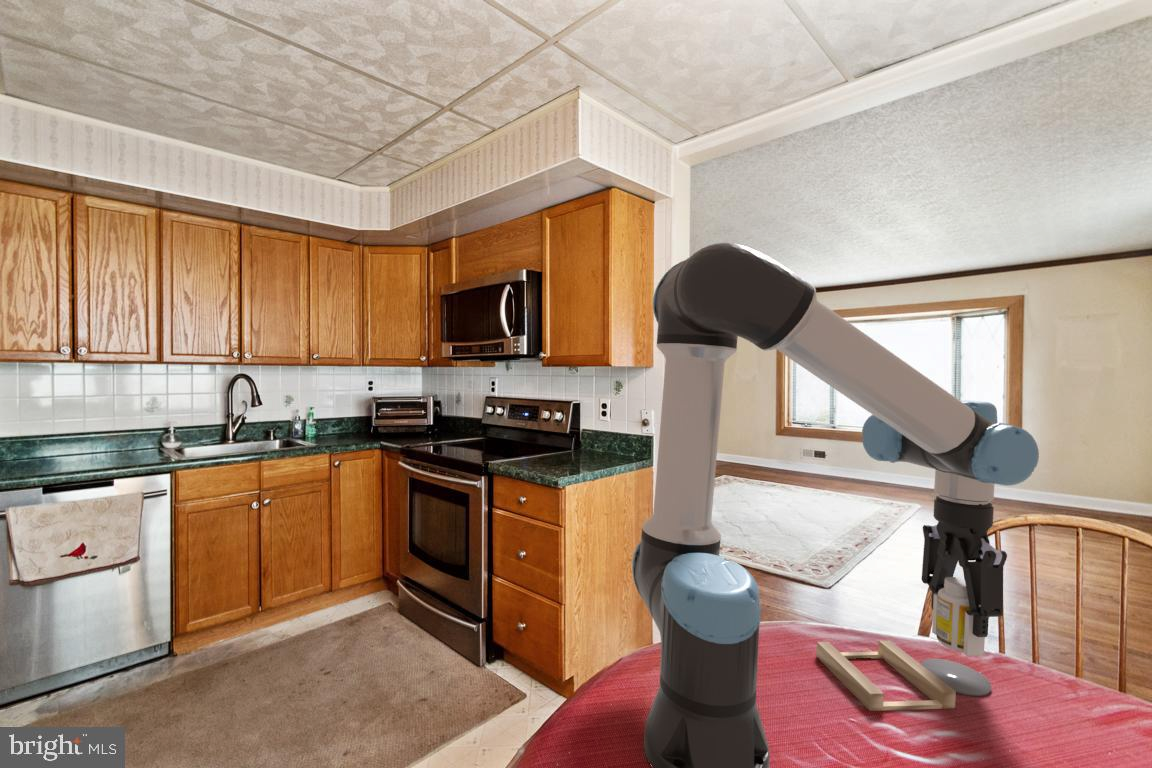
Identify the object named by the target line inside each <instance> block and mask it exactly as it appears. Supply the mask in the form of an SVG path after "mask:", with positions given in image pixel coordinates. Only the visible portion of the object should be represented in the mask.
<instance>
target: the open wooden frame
mask: <svg viewBox="0 0 1152 768" xmlns="http://www.w3.org/2000/svg"><path fill="white" fill-rule="evenodd" d="M877 643H878V647H877V651H845V652H843V651H842V652H841V651H839V650H838V649H837V648H836V647H835V646H834V645H833V644H832V643H830V642H829V641H816V657H817V659H818V660H819V661H820V662H821V663H822V664H823V665H824V666H825V667H826V668H827V669H828V670H829V671H830V672H831V673H832V674H833V675H834V676H835V677H836V678H837V679H838V680H839V681H840V682H841V683H842V684H843V685H844V687H846V689H848V690H849V691H850V693H852V694H853V695H854V696H855V698H857V699H858V701H859V702H860V703H861V704H863V706H864V707H865V708H866V709H867V710H868V711H869V712H881V711H906V710H907V711H911V710H939V709H941V710H942V709H947V710H948V709H955V708H956V695H957V694H956V691H955V690H953V689H952V688H951V687H949V686H948V685H947V684H946V683H944V682H943V681H942V680H940V679H939V678H938V677H937V676H935V675H934V674H933V673H931V672H930V671H929V670H927V669H926V668H925V667H924V666H922V665H921V663H920V662H918V661H917V660H916V659H914V657H912V656H910V655H909V653H907V652H905V651H904V650H903V649H902V648H901V647H899V646H897V645H896V644H895V643H893V642H892V641H891V640H890V639H887V640H878V642H877ZM856 658H871V659H882V660H883V659H884V660H883V661H885V662H886V663H887V664H888V665H890V666H891V667H892V668H893V669H894V670H896V672H898V673H899V674H900V675H901V676H902V677H904V679H906V680H907V681H908V682H909V683H911V684H912V685H913V686H915V687H916V688H917V689H918V690H919V691H920V692H922V694H924V695H925V696H926V697H927V698H929V699H928V700H927V699H926V700H901V701H896V700H895V701H884V699H885V698H884V696H885V695H884V692H883V691H882V690H881V689H879V687H878V686H877V685H876V684H874V683H873V682H872V681H871V680H870V679H869V678H868V677H867V676H866V675H865V674H864V673H863V672H861V671H860V670H859V669H858V668H857V667H856V666H855V665H854V664H853V663H852V662H851V661H850V660H857V659H856Z"/></svg>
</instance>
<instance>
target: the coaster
mask: <svg viewBox="0 0 1152 768" xmlns="http://www.w3.org/2000/svg"><path fill="white" fill-rule="evenodd" d="M920 664H921V665H922V666H924V667H925V668H926V669H927V670H929V671H930V672H931V673H933V674H934V675H935V676H937V677H938V678H939V679H940V680H942V681H943V682H944V683H946V684H947V685H948V686H949V687H951V688H952V689H953V690H955V691H956V693H957V694H961V695H965V696H970V697H971V696H972V697H983V696H984V697H985V696H987V695H989V694H990V693H991V690H992V684H991V682H990V681H989V679H988V678H987V677H986V676H985V675H984V674H982V673H981V672H979V671H978V670H975V669H974V668H972V667H970V666H967V665H965V664H962V663H959V662H956V661H953V660H949V659H941V658H929V659H928V658H927V659H925V660H923V661H922V662H921V663H920Z"/></svg>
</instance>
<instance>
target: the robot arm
mask: <svg viewBox="0 0 1152 768" xmlns="http://www.w3.org/2000/svg"><path fill="white" fill-rule="evenodd" d="M652 299H653V300H652V310H653V314H654V317H655V319H656V322H657V333H656V334H657V337H656V347H657V348H658V350H659V352H661V354H663V356H664V358H665V363H664V364H665V365H664V377H663V390H662V402H661V410H660V411H661V414H660V425H659V427H660V428H659V439H658V449H657V450H658V452H657V464H656V475H655V490H654V502H653V512H652V513H653V514H652V515H651V516H650V517H649V518H648V519H646V520H645V521H644V522H643V523H642V526H641V538H640V541H639V542H638V544H637V546H636V547H635V550H634V553H633V556H632V564H631V565H632V566H631V567H632V578H633V582H634V585H635V587H636V590H637V592H638V594H639V596H640V597H641V599H642V600H643V602H644V604H645V606H646V608H647V610H648V611H649V614H650V616H651V617H652V619H653V621H654V623H655V625H656V627H657V629H658V631H659V634H660V663H659V665H660V666H659V667H660V668H659V670H660V671H659V673H660V674H659V687H658V689H657V692H656V694H655V697H654V699H653V702H652V705H651V708H650V709H649V712H648V715H647V718H646V720H645V721H646V722H645V726H644V735H643V737H644V738H643V750H644V749H645V751H644V755H645V754H646V755H645V757H647V758H646V760H647V759H648V761H649V763H650V764H651V765H652V767H653V768H770V762H771V761H770V757H771V755H770V748H769V743H768V740H767V736H766V733H765V730H764V726H763V723H762V718H761V716H760V712H759V709H758V705H757V687H758V666H759V665H758V663H759V661H758V660H759V641H760V639H759V638H760V623H761V618H762V613H761V612H762V606H761V604H760V591H759V590H760V589H759V587H758V586H759V585H758V583H757V581H756V579H755V578H754V576H753V575H752V574H751V572H749V571H748V569H746V568H745V567H744V566H742V565H741V564H739V563H737V562H736V561H734V560H727V559H726V557H724V556H720V551H721V539H722V538H721V537H722V536H721V533H720V532H719V530H718V529H717V528H716V527H715V526H714V524H713V522H712V515H713V505H714V504H713V503H714V493H715V482H716V481H715V480H716V468H717V455H718V446H719V445H718V443H719V432H720V420H721V410H722V398H723V397H722V395H723V386H724V385H723V383H724V374H725V372H724V371H725V363H726V361H727V360H728V359H730V357H731V356H733V355H734V354H735V353H736V352H737V349H738V339H739V338H743V339H745V340H746V341H748V342H750V343H752V344H753V345H755V346H756V347H757V348H759V349H760V350H762V351H764V352H767V351H772V350H777V351H778V352H779V353H781V354H783V355H784V356H786V357H787V358H788V359H790V360H791V361H793V362H794V363H796V364H797V365H799V366H800V367H802V368H804V369H805V370H807V372H810V374H812V375H813V376H815V377H817V378H818V379H820V381H823V382H824V383H825V384H827V385H829V386H830V387H831V388H832V389H834V390H836V391H838V392H839V393H841V395H843V396H845V397H846V398H847V399H849V400H850V401H852V402H853V403H855V404H856V405H858V406H860V407H861V408H862V409H864V410H865V411H866V412H867V413H870V414H871V415H870V416H869V417H868V418H867V419H866V420H865V421H864V423H863V426H862V429H861V433H862V435H861V436H862V437H861V441H862V446H863V448H864V450H865V452H866V453H867V455H868V456H869V457H870V458H871V459H872V460H875V461H878V462H889V463H892V464H894V463H899V462H901V463H909V464H913V465H918V466H919V467H920V466H921V467H924V468H929V469H933V470H935V472H934V486H933V487H934V488H933V491H934V493H935V494H937V495H936V496H935V497H934V500H933V517H934V519H935V521H937V524H928V525H927V524H924V525H923V526H922V532H923V533H922V534H923V538H924V540H923V543H924V544H923V555H922V565H921V566H922V569H921V582H922V583H923V584H926V585H927V586H928V587H929V590H930V591H931V602H930V603H931V609H932V625H931V626H932V627H931V631H932V632H931V633H933V634H934V635H936V632H937V605H938V591H939V590H940V589H942V588H944V582H945V578H946V577H954V574H955V571H956V567H957V565H959V566H960V567H961V568H962V572H963V577H964V578H963V579H965V583H966V589H967V595H968V600H969V606H970V610H966V611H965V628H964V650H963V652H962V653H963V654H964V655H965V656H968V657H972V656H974V657H975V656H976V657H978V656H981V657H982V656H985V643H986V642H985V641H986V638H987V637H988V635H989V620H990V619H989V618H994V617H996V618H999V617H1000V618H1001V617H1002V616H1003V615H1004V566H1005V563H1006V561H1007V559H1008V554H1007V552H1006V551H1005V550H997V548H995V547H993V545H991V544H990V539H989V537H988V531H989V530H990V529H991V528H992V527H993V526H994V511H995V510H994V507H995V506H994V505H993V504H992V503H991V501H994V499H995V498H994V497H995V485H1000V486H1004V487H1005V486H1008V487H1009V486H1015V485H1019V484H1021V483H1023V482H1025V481H1026V480H1028V479H1029V478H1030V477H1031V476H1032V474H1033V472H1034V471H1035V469H1036V467H1037V466H1038V463H1039V457H1040V456H1039V455H1040V453H1039V450H1040V449H1039V446H1038V444H1037V441H1036V440H1035V438H1034V436H1033V435H1032V434H1031V433H1030V432H1029V431H1027V430H1025V429H1024V428H1022V427H1019V426H1014V425H1009V424H1008V423H1004V422H998V410H997V407H996V406H995V405H994V403H991V402H987V401H979V400H977V401H976V400H962V399H961V400H960V399H958V398H957V397H955V396H954V395H952V394H951V393H950V392H948V391H947V390H945V389H944V388H942V386H940V385H938V384H936V382H934V381H933V380H931V379H930V378H928V377H927V376H925V375H924V374H923V373H921V372H920V371H919V370H917V369H915V368H914V367H913V366H911V365H910V364H909V363H908V362H906V361H904V360H903V359H902V358H900V357H899V356H897V355H895V354H894V353H893V352H891V351H890V350H889V349H887V348H886V347H885V346H883V345H881V344H880V343H879V342H877V341H876V340H875V339H873V338H871V337H870V336H869V335H868V334H866V333H865V332H863V331H861V329H859V328H857V326H855V325H853V324H852V323H850V322H849V321H847V320H846V319H845V318H844V317H842V316H840V315H839V314H837V313H836V312H835V311H834V310H832V309H831V308H829V307H828V306H826V305H825V304H823V303H822V302H820V300H818V299H817V289H816V287H815V286H814V285H813V284H811V283H809V282H807V281H806V280H805V279H803V278H802V277H801V276H799V275H798V274H797V273H795V272H794V271H793V270H791V269H789V268H788V267H785V266H784V265H783V264H781V263H779V262H778V261H776V260H775V259H773V258H771V257H770V256H768V255H766V254H764V253H762V252H760V251H759V250H755V249H753V248H751V247H748V246H745V245H741V244H738V243H731V242H719V243H713V244H709V245H707V246H704V247H702V248H701V249H699V250H697V251H696V252H694V253H693V254H692V255H690V256H689V257H688V258H686V259H684V260H682V261H680V262H678V263H677V264H674V265H673V266H672V267H671V268H670V269H669V270H668V271H666V273H664V274H663V276H662V278H661V279H660V281H659V282H658V284H657V285H656V288H655V290H654V294H653V298H652ZM738 337H739V338H738ZM979 605H981V607H979ZM648 761H647V762H648ZM649 763H648V764H649Z"/></svg>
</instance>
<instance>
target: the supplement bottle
mask: <svg viewBox="0 0 1152 768" xmlns="http://www.w3.org/2000/svg"><path fill="white" fill-rule="evenodd" d="M979 607H981V605H979ZM966 610H970V606H969V600H968V595H967V589H966V583H965V578H962V577H956V576H953V577H946V578H945V582H944V588H942V589H940V590H939V591H938V605H937V632H936V639H937V641H938V642H939V644H941V645H943V646H944V647H945V648H948V649H950V650H953V651H956V652H960V653H963V650H964V628H965V611H966Z"/></svg>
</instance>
